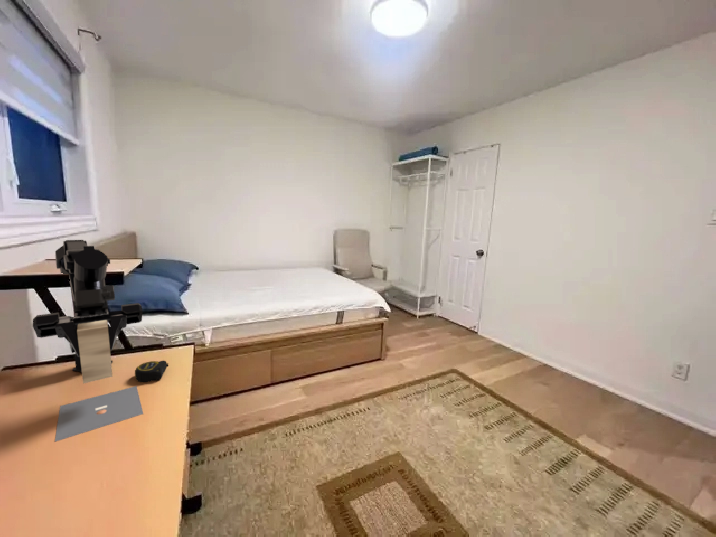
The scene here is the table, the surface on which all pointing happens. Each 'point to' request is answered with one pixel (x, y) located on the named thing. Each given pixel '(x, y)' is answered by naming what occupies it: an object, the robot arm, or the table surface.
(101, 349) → the birch block
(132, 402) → the slate tile
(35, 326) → the robot arm
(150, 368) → the tape measure
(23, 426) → the table surface
